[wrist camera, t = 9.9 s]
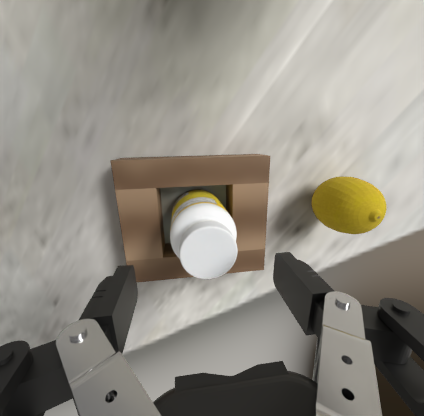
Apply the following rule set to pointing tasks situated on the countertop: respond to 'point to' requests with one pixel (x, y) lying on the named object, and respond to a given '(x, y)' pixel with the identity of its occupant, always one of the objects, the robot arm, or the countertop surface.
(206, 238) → the supplement bottle
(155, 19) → the countertop surface
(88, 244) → the countertop surface
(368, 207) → the lemon
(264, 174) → the block
